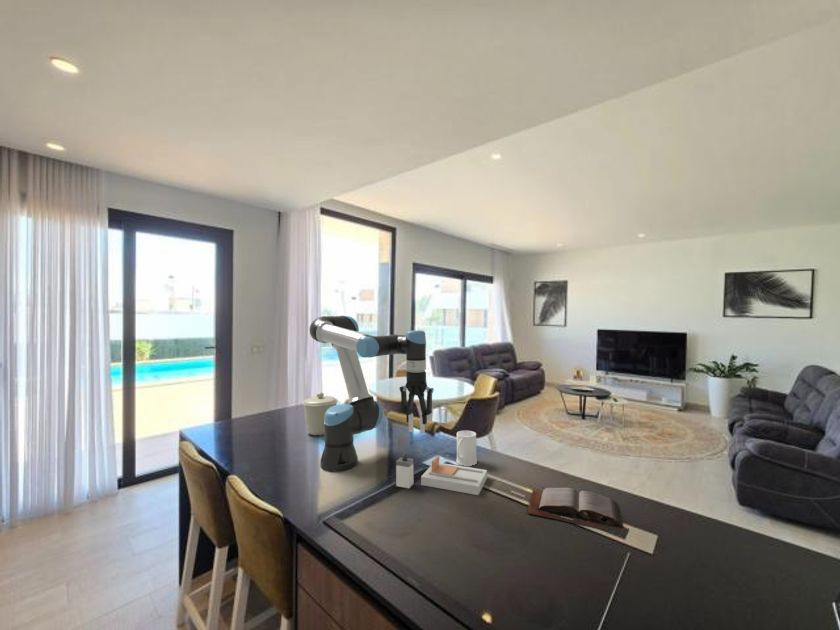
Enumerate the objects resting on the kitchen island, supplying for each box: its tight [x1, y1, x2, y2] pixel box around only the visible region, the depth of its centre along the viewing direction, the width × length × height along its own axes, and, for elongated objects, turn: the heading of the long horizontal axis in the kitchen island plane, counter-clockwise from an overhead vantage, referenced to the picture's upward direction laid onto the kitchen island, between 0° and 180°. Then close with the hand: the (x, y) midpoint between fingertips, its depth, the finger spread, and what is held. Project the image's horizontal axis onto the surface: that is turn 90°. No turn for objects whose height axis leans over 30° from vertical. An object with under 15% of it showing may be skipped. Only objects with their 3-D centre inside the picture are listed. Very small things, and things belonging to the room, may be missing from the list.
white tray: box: [420, 462, 488, 496], centre depth 136 cm, size 21×14×4 cm, turn 68°
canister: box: [301, 391, 339, 436], centre depth 193 cm, size 18×18×21 cm
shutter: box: [431, 455, 457, 476], centre depth 137 cm, size 8×7×4 cm
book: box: [526, 487, 625, 534], centre depth 117 cm, size 20×28×4 cm
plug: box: [395, 453, 414, 489], centre depth 133 cm, size 5×4×11 cm
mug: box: [456, 430, 478, 467], centre depth 152 cm, size 12×8×12 cm
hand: (416, 431), depth 141 cm, fingers open, 4 cm apart
